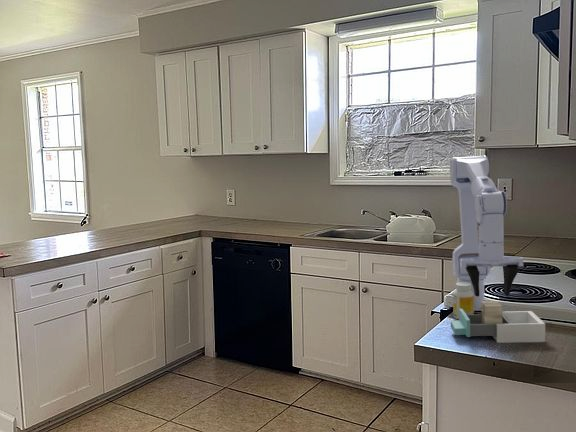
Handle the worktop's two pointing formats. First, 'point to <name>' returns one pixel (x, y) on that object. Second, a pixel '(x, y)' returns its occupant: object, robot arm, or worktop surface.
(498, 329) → the organiser box
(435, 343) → the worktop surface
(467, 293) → the supplement bottle
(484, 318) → the birch block
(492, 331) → the tray
